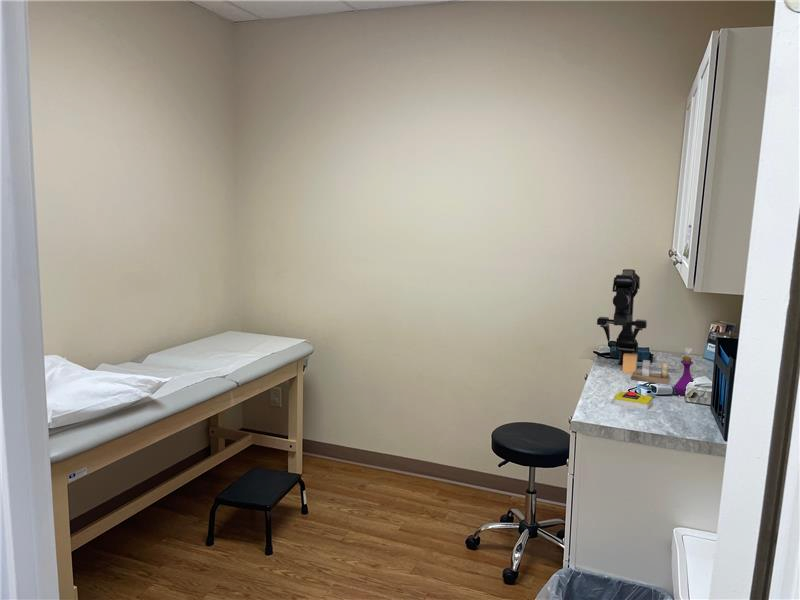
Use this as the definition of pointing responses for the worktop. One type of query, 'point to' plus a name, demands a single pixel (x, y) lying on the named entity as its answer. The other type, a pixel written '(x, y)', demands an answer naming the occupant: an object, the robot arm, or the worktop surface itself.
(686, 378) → the perfume bottle
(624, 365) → the kraft paper carton
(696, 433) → the worktop surface
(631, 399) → the emergency button
